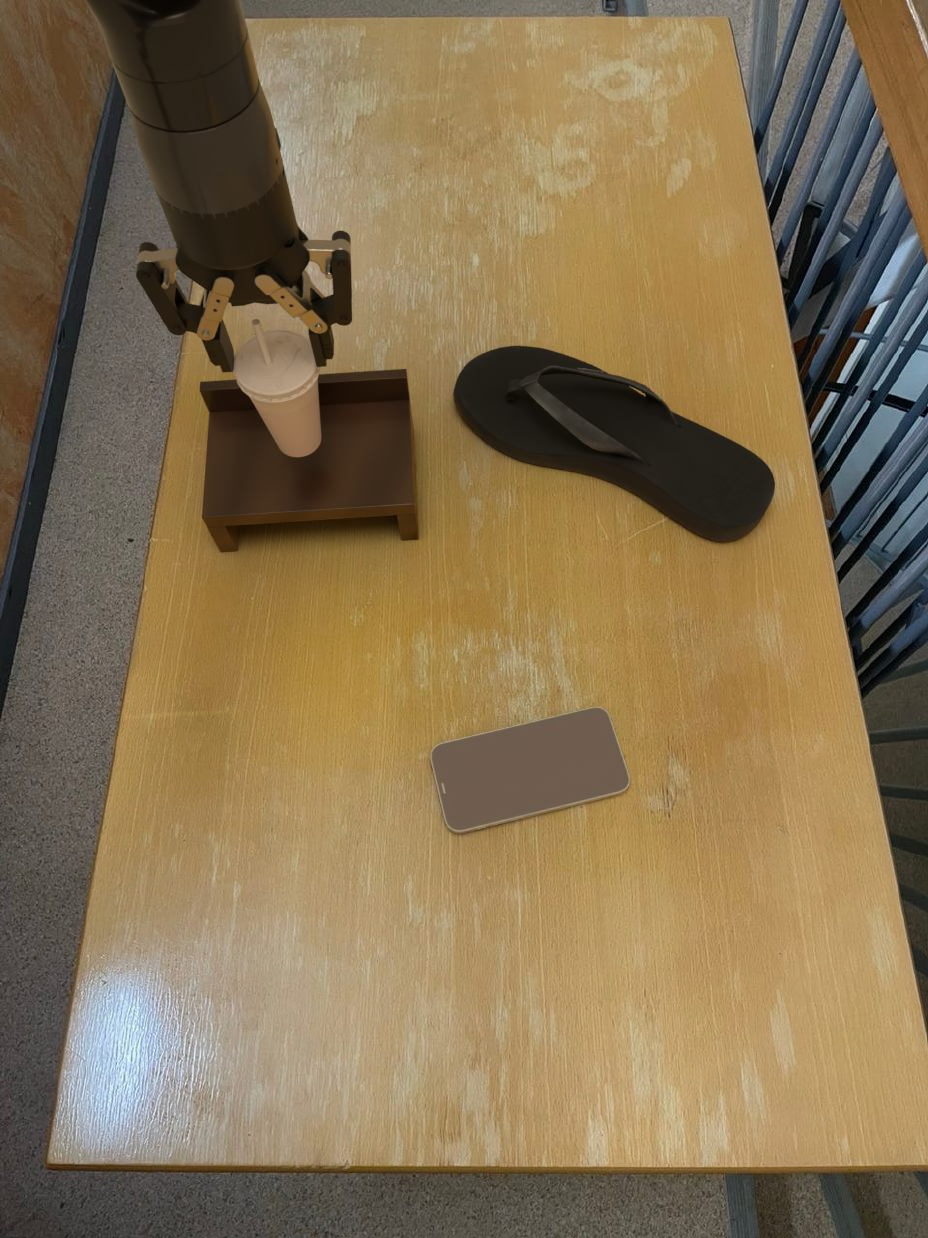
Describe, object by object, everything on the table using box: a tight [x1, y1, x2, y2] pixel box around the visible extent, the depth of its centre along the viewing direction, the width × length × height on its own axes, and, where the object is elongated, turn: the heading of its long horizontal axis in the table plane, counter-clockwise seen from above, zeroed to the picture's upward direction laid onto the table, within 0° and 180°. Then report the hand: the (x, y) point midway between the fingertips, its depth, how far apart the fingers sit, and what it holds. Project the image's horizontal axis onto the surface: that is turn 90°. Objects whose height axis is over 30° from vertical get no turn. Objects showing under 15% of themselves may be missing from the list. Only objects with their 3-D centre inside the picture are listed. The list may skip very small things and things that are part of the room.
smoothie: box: [233, 318, 321, 457], centre depth 70 cm, size 6×6×14 cm
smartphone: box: [429, 706, 631, 835], centre depth 73 cm, size 7×1×15 cm
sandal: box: [452, 345, 776, 543], centre depth 84 cm, size 13×31×7 cm, turn 65°
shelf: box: [199, 368, 420, 553], centre depth 81 cm, size 18×12×9 cm, turn 93°
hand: (275, 359), depth 68 cm, fingers closed on smoothie, 6 cm apart
